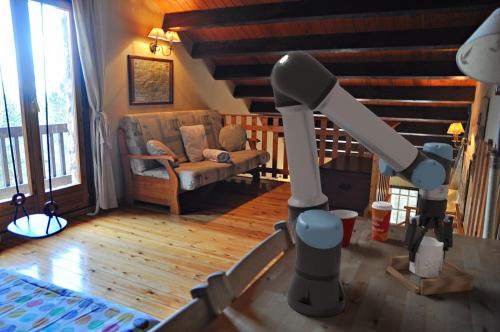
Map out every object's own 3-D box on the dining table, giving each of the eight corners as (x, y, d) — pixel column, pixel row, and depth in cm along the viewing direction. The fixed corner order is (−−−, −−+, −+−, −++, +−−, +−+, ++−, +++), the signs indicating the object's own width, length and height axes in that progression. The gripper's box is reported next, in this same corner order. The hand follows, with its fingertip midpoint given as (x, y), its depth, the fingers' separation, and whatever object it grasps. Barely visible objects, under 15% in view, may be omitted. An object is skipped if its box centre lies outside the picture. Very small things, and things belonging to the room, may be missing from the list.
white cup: (443, 280, 108) (447, 247, 106) (414, 277, 110) (417, 245, 108) (435, 268, 116) (439, 237, 114) (408, 265, 117) (411, 235, 115)
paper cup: (364, 236, 147) (367, 201, 144) (381, 234, 149) (384, 200, 147) (377, 243, 140) (380, 207, 137) (394, 241, 142) (397, 205, 139)
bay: (417, 295, 103) (418, 282, 103) (384, 268, 119) (385, 256, 118) (472, 289, 107) (474, 276, 106) (433, 264, 123) (434, 253, 122)
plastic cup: (339, 236, 147) (341, 206, 144) (362, 245, 138) (364, 213, 136) (319, 241, 140) (321, 211, 138) (342, 251, 132) (344, 219, 130)
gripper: (409, 201, 103) (402, 279, 107) (473, 198, 107) (464, 273, 111) (393, 194, 110) (387, 267, 114) (454, 192, 114) (446, 262, 118)
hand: (425, 270), depth 112 cm, fingers closed on white cup, 7 cm apart
